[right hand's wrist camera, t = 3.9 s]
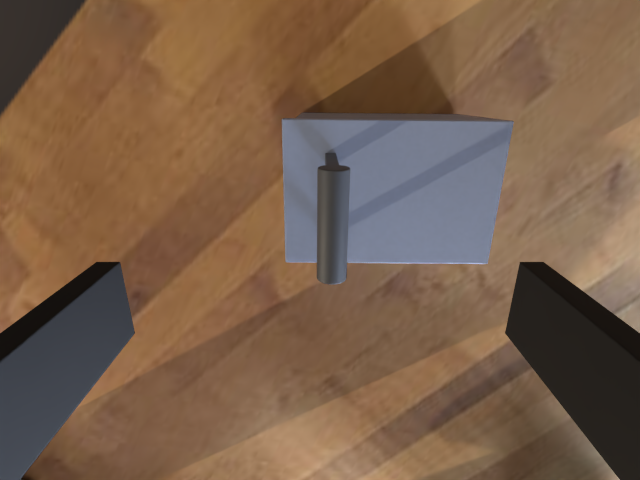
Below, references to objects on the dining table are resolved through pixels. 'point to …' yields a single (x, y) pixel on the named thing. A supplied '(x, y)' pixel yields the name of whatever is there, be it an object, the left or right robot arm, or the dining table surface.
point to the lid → (391, 190)
